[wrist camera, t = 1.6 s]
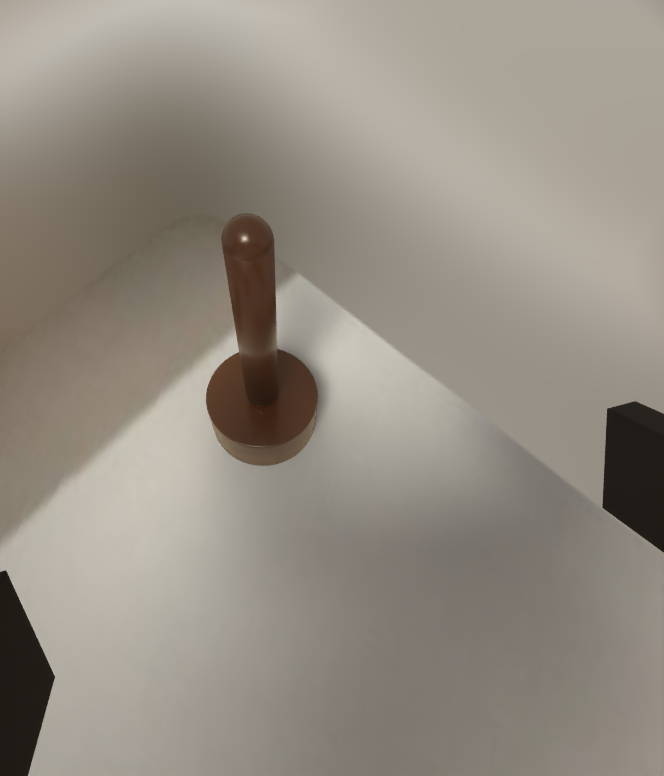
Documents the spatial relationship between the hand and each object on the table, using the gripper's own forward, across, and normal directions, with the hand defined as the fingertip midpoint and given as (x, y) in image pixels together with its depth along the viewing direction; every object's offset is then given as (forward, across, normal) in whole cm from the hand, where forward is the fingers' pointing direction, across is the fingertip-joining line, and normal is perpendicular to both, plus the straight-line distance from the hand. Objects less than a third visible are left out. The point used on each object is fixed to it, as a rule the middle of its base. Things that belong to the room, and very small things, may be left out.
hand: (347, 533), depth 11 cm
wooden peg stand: (+18, 0, -4) cm, 18 cm away
